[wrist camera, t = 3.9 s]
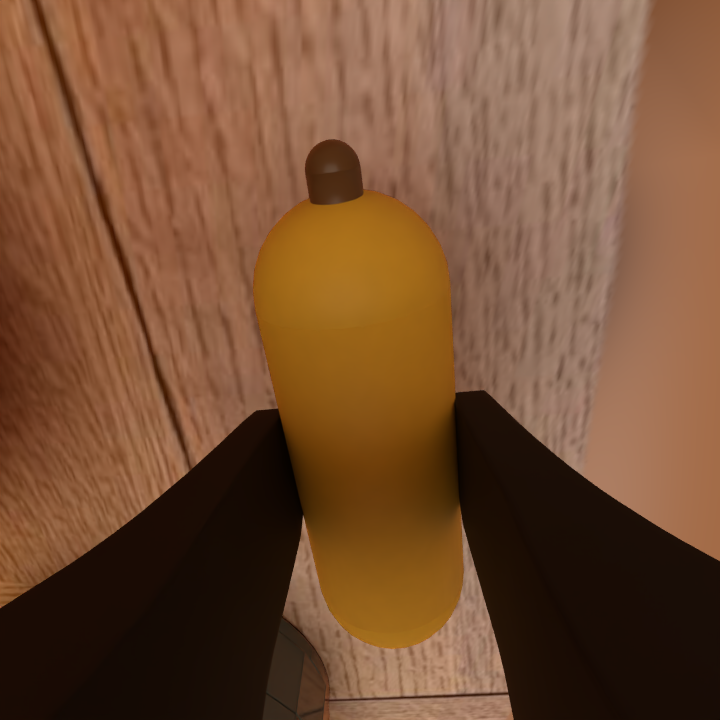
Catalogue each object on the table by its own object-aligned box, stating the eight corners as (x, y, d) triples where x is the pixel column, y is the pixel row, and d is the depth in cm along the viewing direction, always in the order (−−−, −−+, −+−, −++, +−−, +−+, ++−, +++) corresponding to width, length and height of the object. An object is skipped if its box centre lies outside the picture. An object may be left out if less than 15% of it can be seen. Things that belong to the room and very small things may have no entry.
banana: (458, 556, 13) (474, 683, 10) (338, 559, 13) (320, 682, 10) (436, 122, 8) (452, 125, 5) (255, 147, 9) (180, 162, 6)
